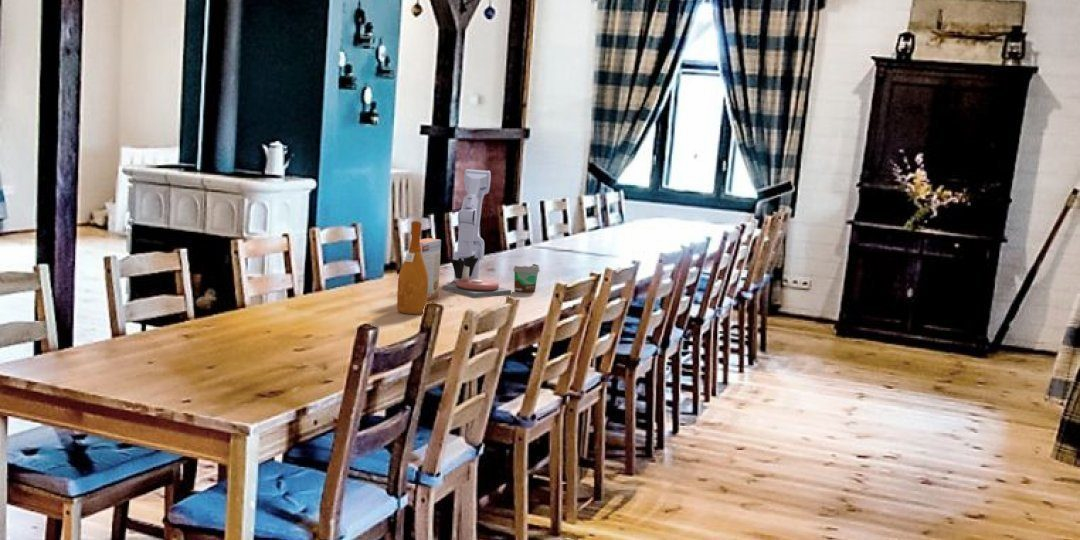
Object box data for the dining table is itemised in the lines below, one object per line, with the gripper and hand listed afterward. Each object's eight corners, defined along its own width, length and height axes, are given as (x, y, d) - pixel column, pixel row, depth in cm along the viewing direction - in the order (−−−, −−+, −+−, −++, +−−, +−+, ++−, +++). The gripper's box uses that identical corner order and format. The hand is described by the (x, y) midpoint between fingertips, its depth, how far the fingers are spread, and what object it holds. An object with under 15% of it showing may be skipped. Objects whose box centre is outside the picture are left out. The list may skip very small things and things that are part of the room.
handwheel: (506, 286, 409) (507, 269, 408) (485, 291, 395) (487, 274, 394) (468, 281, 416) (469, 264, 415) (447, 285, 401) (448, 268, 400)
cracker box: (423, 295, 390) (427, 237, 387) (438, 297, 388) (442, 239, 385) (404, 300, 377) (408, 240, 374) (420, 303, 375) (423, 242, 372)
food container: (524, 294, 407) (526, 268, 405) (511, 292, 410) (513, 265, 409) (544, 291, 416) (546, 265, 415) (531, 289, 420) (533, 263, 419)
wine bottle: (392, 309, 360) (397, 219, 356) (421, 309, 364) (426, 219, 360) (401, 315, 352) (406, 222, 347) (430, 315, 356) (435, 223, 351)
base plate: (442, 289, 406) (442, 285, 405) (478, 286, 418) (479, 282, 418) (474, 297, 393) (474, 293, 393) (510, 294, 406) (511, 290, 405)
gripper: (465, 238, 414) (463, 273, 416) (446, 241, 401) (444, 278, 403) (482, 240, 411) (479, 276, 413) (463, 243, 398) (461, 280, 400)
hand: (463, 277), depth 407 cm, fingers open, 7 cm apart
